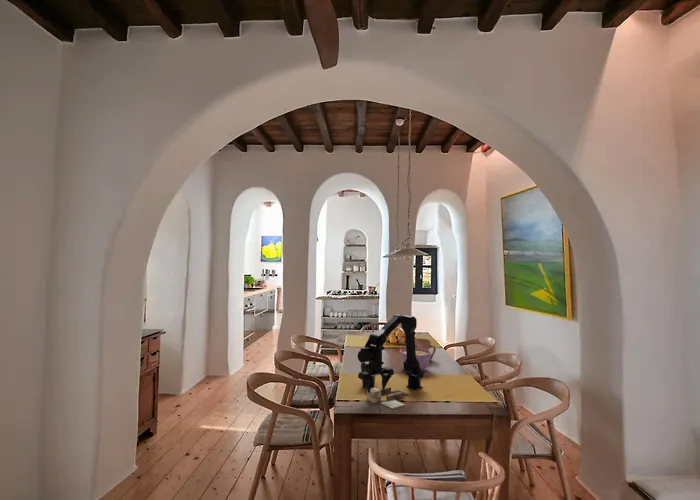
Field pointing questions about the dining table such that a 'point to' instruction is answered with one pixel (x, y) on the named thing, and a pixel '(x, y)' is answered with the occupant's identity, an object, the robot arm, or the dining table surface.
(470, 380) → the dining table surface
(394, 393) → the tile
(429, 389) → the dining table surface
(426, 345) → the ceramic jug
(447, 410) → the dining table surface
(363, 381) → the coffee mug
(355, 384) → the dining table surface
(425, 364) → the bowl of food
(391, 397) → the walnut channel
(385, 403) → the sage coaster
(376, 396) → the beech block
